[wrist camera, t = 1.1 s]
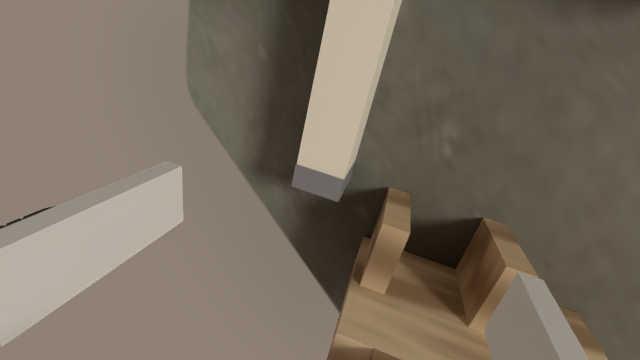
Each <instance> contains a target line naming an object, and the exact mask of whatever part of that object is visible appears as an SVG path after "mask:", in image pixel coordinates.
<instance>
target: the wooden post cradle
mask: <svg viewBox="0 0 640 360" xmlns="http://www.w3.org/2000/svg"><path fill="white" fill-rule="evenodd" d="M409 235H410V194H409V193H405V192H402V191H399V190H396V189H393V188H390V187H389V189H388V192H387V195H386V198H385V200H384V203H383V206H382V209H381V211H380V214H379V217H378V220H377V223H376V225H375V228H374V231H373V234H372V236H371V239H369V238H367V237H364V236H363V239H362V242H361V245H360V248H359V251H358V254H357V257H356V260H355V263H354V267H353V270H352V274H351V277H350V281H349V284H348V288H347V291H346V295H345V298H344V302H343V305H342V309H341V312H340V316H339V319H338V323H337V326H336V330H335V333H334V337H333V340H332V344H331V347H330V351H329V354H328V358H327V360H492V358H491V354H490V350H489V346H488V343H487V339H486V335H485V331H484V327H485V325H486V324H487V322H488V321H489V319H490V317H491V316H492V314H493V312H494V311H495V309H496V308H497V306H498V304H499V303H500V301H501V299H502V298H503V296H504V295H505V293H506V291H507V290H508V288H509V286H510V285H511V283H512V281H513V280H514V278H515V277H516V275H517V273H518V272H519V273H522V274H526V275H529V276H532V277H535V278H539V277H538V275H537V274H536V272H535V270H534V269H533V267H532V266H531V264H530V262H529V261H528V259H527V257H526V256H525V254H524V252H523V251H522V249H521V247H520V246H519V244H518V242H517V241H516V239H515V237H514V236H513V234H512V232H511V231H510V229H509V227H508V226H507V225H505V224H502V223H499V222H496V221H493V220H490V219H486V218H483V219H482V221H481V223H480V225H479V227H478V229H477V230H476V232H475V234H474V236H473V238H472V240H471V241H470V243H469V245H468V247H467V249H466V251H465V253H464V254H463V256H462V258H461V260H460V262H459V264H458V266H457V267H456V269H454V268H451V267H448V266H445V265H442V264H440V263H437V262H434V261H431V260H428V259H426V258H423V257H420V256H417V255H414V254H412V253H409V252H406V251H403V249H404V247H405V245H406V242H407V240H408V237H409ZM559 308H560V310H561V311H562V313H563V315H564V317H565V318H566V320H567V322H568V324H569V325H570V327H571V329H572V331H573V332H574V334H575V336H576V337H577V339H578V341H579V343H580V344H581V346H582V348H583V350H584V351H585V353H586V355H587V356H588V358H589V360H608V359H607V357H606V356H605V354H604V353H603V351H602V350H601V348H600V347H599V345H598V344H597V342H596V341H595V339H594V338H593V336H592V335H591V333H590V332H589V330H588V329H587V327H586V326H585V324H584V323H583V321H582V320H581V318H580V317H579V315H578V314H577V312H574V311H572V310H569V309H566V308H563V307H560V306H559Z"/></svg>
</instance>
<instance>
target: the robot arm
mask: <svg viewBox="0 0 640 360" xmlns="http://www.w3.org/2000/svg"><path fill="white" fill-rule="evenodd" d="M182 221H183V191H182V166H181V165H177V164H174V163H171V162H168V161H165V162H163V163H160V164H158V165H156V166H153V167H151V168H148V169H146V170H143V171H141V172H139V173H136V174H134V175H131V176H129V177H126V178H124V179H121V180H119V181H116V182H114V183H112V184H109V185H107V186H104V187H102V188H99V189H97V190H94V191H92V192H90V193H87V194H85V195H82V196H80V197H77V198H75V199H72V200H70V201H67V202H65V203H63V204H60V205H58V206H54V207H49V208H45V209H42V210H39V211H37V212H34V213H32V214H29V215H27V216H25V217H24V218H23V219H17V220H15V221H12V222H10V223H7V225H6V226H0V346H3V345H5V344H6V343H8V342H9V341H11V340H12V339H14V338H15V337H17V336H18V335H19V334H21V333H22V332H24V331H25V330H27V329H28V328H29V327H31V326H32V325H34V324H35V323H37V322H38V321H40V320H41V319H42V318H44V317H45V316H47V315H48V314H50V313H51V312H52V311H54V310H55V309H57V308H58V307H60V306H61V305H63V304H64V303H65V302H67V301H68V300H70V299H71V298H73V297H74V296H76V295H77V294H78V293H80V292H81V291H83V290H84V289H85V288H87V287H88V286H90V285H91V284H93V283H94V282H96V281H97V280H98V279H100V278H101V277H103V276H104V275H106V274H107V273H109V272H110V271H112V270H113V269H114V268H116V267H117V266H119V265H120V264H121V263H123V262H124V261H126V260H127V259H129V258H130V257H132V256H133V255H134V254H136V253H137V252H139V251H140V250H142V249H143V248H144V247H146V246H147V245H149V244H150V243H152V242H153V241H155V240H156V239H157V238H159V237H160V236H162V235H163V234H165V233H166V232H167V231H169V230H170V229H172V228H173V227H175V226H176V225H178V224H179V223H181V222H182ZM484 331H485V335H486V339H487V343H488V346H489V350H490V354H491V358H492V360H589V358H588V356H587V355H586V353H585V351H584V350H583V348H582V346H581V344H580V343H579V341H578V339H577V337H576V336H575V334H574V332H573V331H572V329H571V327H570V325H569V324H568V322H567V320H566V318H565V317H564V315H563V313H562V311H561V310H560V308H559V306H558V305H557V303H556V301H555V299H554V298H553V296H552V294H551V292H550V291H549V289H548V287H547V286H546V284H545V282H544V280H541V279H538V278H535V277H532V276H529V275H526V274H522V273H519V272H518V273H517V275H516V277H515V278H514V280H513V281H512V283H511V285H510V286H509V288H508V290H507V291H506V293H505V295H504V296H503V298H502V299H501V301H500V303H499V304H498V306H497V308H496V309H495V311H494V312H493V314H492V316H491V317H490V319H489V321H488V322H487V324H486V325H485V327H484Z"/></svg>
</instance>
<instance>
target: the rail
mask: <svg viewBox="0 0 640 360" xmlns="http://www.w3.org/2000/svg"><path fill="white" fill-rule="evenodd" d="M401 1H402V0H330V2H329V7H328V12H327V17H326V22H325V27H324V32H323V37H322V42H321V47H320V52H319V57H318V62H317V67H316V71H315V76H314V81H313V86H312V91H311V96H310V101H309V106H308V111H307V116H306V121H305V126H304V131H303V135H302V140H301V145H300V150H299V155H298V160H297V164H296V165H295V170H294V175H293V180H292V185H291V186H292V187H295V188H298V189H301V190H304V191H307V192H310V193H313V194H316V195H319V196H321V197H324V198H327V199H330V200H333V201H336V202H338V201H339V199H340V198H341V196H342V194H343V192H344V190H345V188H346V186H347V184H348V183H349V181H350V178H351V175H352V171H353V168H354V164H355V159H356V156H357V152H358V149H359V145H360V142H361V138H362V135H363V132H364V128H365V125H366V121H367V118H368V114H369V111H370V108H371V104H372V101H373V97H374V94H375V90H376V87H377V84H378V80H379V77H380V73H381V70H382V67H383V63H384V60H385V56H386V53H387V49H388V46H389V43H390V39H391V36H392V32H393V29H394V25H395V22H396V19H397V15H398V12H399V8H400V5H401Z"/></svg>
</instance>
